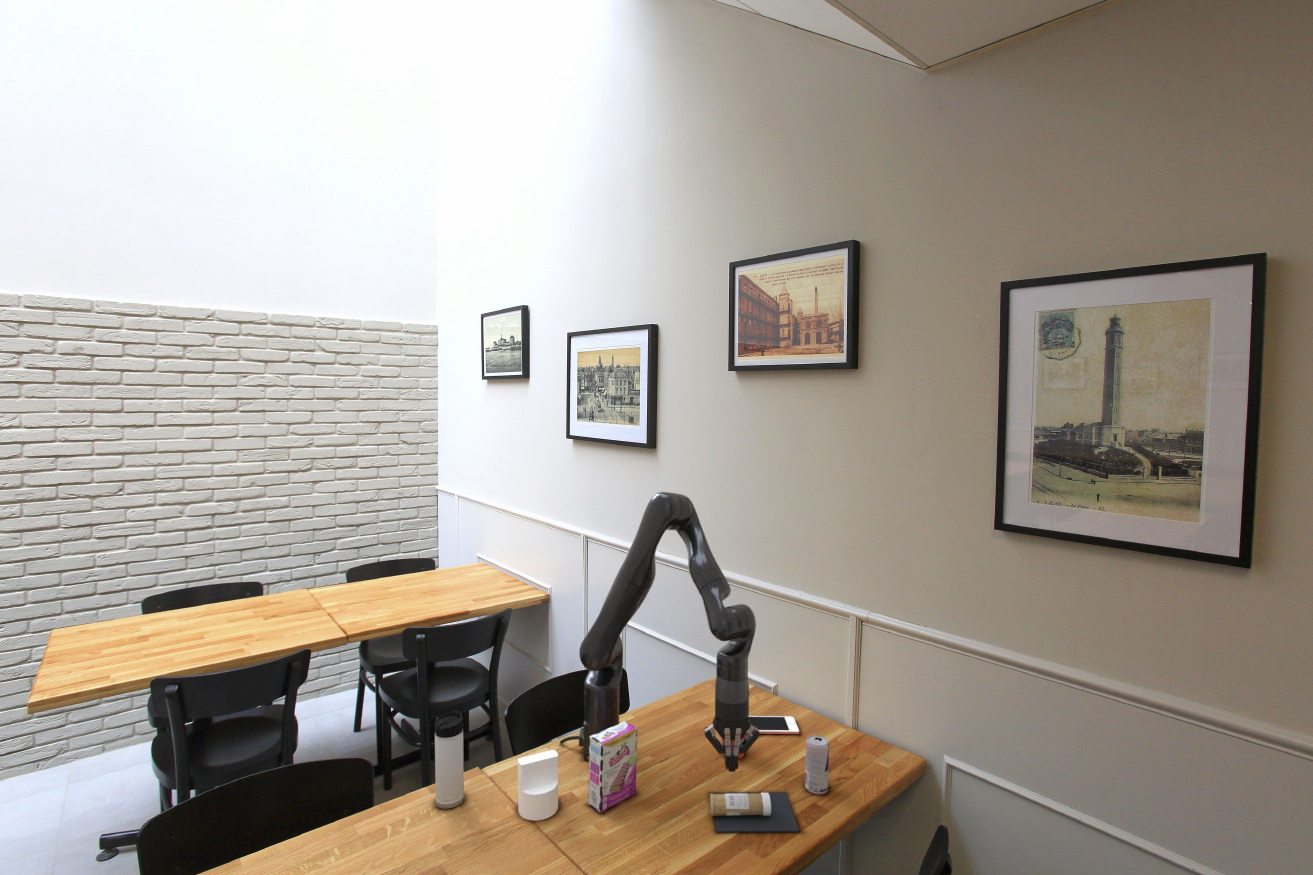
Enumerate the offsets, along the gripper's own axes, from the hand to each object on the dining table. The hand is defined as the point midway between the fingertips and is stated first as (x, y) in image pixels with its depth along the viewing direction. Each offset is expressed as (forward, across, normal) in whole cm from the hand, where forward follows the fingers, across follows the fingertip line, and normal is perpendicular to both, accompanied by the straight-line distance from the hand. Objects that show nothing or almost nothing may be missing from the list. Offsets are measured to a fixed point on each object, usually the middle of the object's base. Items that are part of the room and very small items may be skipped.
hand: (731, 769), depth 147 cm
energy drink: (+11, -22, -10) cm, 27 cm away
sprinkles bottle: (+8, +5, 0) cm, 9 cm away
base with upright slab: (+11, +44, -3) cm, 45 cm away
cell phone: (+11, -15, -40) cm, 44 cm away
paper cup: (+11, -4, -26) cm, 29 cm away
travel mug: (+11, +65, -6) cm, 66 cm away
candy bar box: (+11, +27, -6) cm, 30 cm away
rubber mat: (+11, -5, -1) cm, 12 cm away
